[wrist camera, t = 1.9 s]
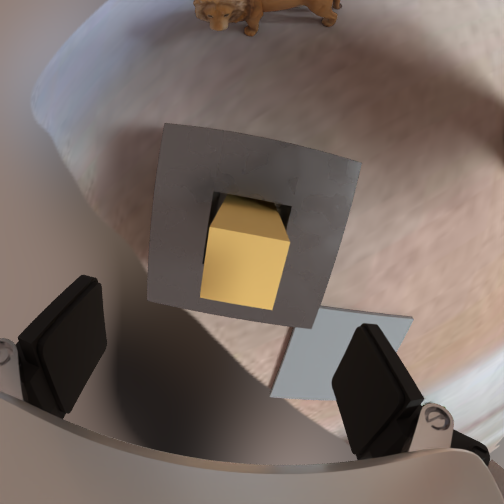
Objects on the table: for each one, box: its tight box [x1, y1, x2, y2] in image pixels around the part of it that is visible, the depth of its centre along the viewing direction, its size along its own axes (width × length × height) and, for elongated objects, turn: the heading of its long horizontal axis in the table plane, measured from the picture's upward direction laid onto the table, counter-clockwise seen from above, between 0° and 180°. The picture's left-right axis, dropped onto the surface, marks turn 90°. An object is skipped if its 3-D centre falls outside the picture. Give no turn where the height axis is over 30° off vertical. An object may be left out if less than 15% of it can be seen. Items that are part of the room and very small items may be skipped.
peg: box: [200, 194, 290, 310], centre depth 20 cm, size 4×4×12 cm
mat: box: [270, 306, 414, 400], centre depth 34 cm, size 16×16×1 cm
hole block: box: [147, 123, 362, 329], centre depth 24 cm, size 14×14×8 cm
